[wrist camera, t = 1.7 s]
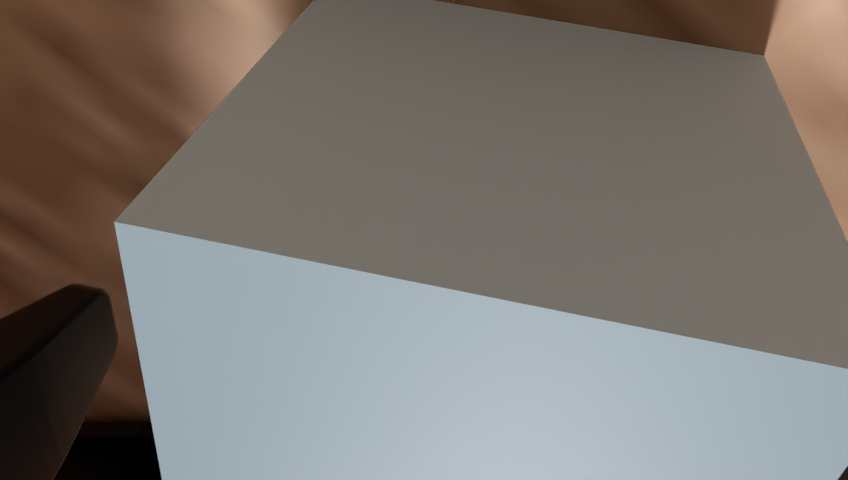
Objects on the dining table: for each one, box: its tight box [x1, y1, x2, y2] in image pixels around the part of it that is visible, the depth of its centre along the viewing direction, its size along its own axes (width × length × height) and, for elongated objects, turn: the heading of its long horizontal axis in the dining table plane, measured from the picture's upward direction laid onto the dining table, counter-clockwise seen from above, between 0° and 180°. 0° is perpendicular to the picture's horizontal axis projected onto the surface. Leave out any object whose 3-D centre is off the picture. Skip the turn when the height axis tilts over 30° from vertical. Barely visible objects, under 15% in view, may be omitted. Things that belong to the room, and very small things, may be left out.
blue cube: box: [114, 0, 848, 480], centre depth 10 cm, size 6×6×6 cm
